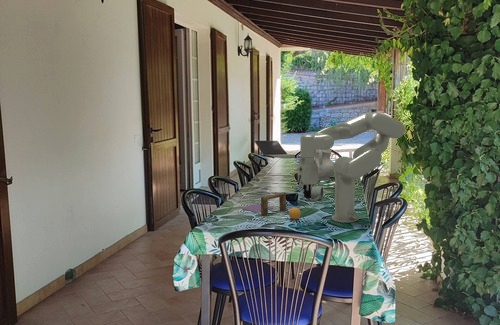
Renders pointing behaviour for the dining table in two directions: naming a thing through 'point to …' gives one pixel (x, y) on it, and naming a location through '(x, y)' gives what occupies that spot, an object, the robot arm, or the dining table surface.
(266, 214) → the bridge
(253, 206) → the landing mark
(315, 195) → the ceramic mug
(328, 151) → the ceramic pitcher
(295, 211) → the ball
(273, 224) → the dining table surface
